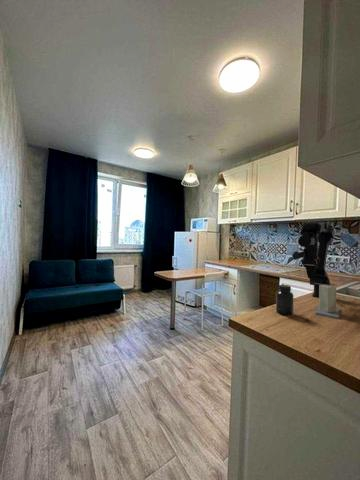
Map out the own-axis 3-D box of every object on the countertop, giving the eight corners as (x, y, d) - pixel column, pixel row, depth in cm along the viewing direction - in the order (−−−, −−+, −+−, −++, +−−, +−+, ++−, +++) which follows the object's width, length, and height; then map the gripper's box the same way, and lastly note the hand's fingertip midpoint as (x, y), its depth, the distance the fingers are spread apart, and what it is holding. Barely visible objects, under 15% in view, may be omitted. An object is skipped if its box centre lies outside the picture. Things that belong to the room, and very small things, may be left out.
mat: (318, 305, 101) (318, 304, 101) (339, 309, 96) (339, 307, 96) (315, 314, 90) (315, 312, 90) (338, 318, 85) (338, 316, 85)
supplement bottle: (284, 309, 96) (285, 283, 96) (297, 314, 89) (297, 287, 89) (272, 311, 94) (272, 284, 93) (284, 316, 87) (284, 288, 87)
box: (336, 312, 90) (337, 287, 90) (327, 312, 90) (328, 287, 90) (326, 308, 96) (327, 284, 95) (318, 308, 95) (318, 284, 95)
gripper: (296, 245, 119) (295, 272, 119) (290, 246, 104) (289, 277, 104) (319, 246, 112) (319, 275, 112) (316, 247, 97) (315, 280, 97)
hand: (310, 277), depth 107 cm, fingers open, 9 cm apart
